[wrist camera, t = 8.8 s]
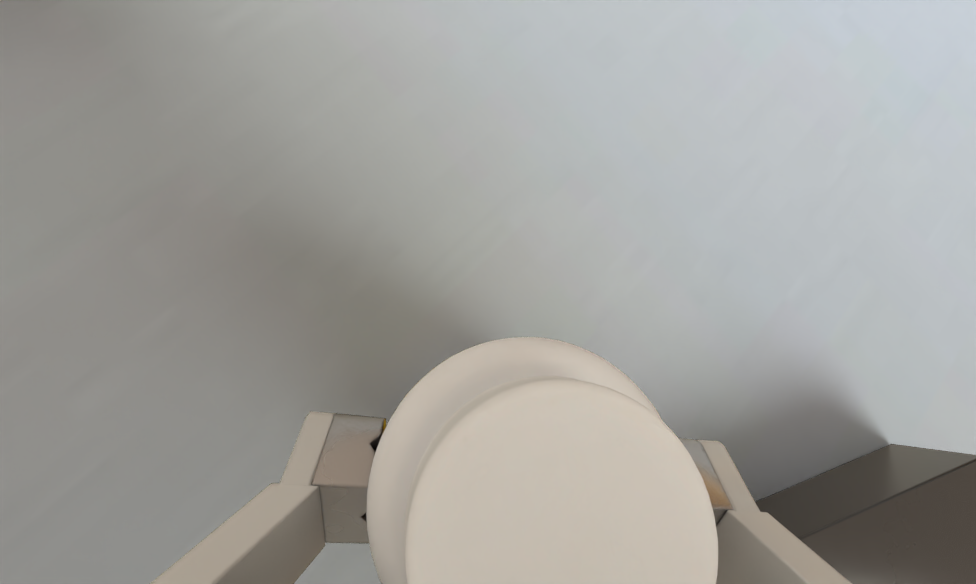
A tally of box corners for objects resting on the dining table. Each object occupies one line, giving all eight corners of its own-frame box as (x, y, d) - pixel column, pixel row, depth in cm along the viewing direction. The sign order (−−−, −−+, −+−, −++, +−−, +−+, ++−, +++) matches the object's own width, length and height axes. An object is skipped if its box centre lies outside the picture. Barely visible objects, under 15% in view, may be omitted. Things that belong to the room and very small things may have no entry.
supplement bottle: (388, 374, 16) (304, 354, 6) (547, 345, 16) (716, 282, 7) (414, 551, 15) (368, 899, 5) (582, 511, 16) (844, 737, 6)
